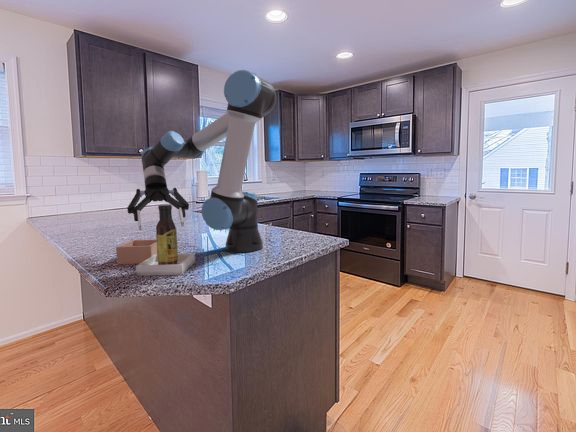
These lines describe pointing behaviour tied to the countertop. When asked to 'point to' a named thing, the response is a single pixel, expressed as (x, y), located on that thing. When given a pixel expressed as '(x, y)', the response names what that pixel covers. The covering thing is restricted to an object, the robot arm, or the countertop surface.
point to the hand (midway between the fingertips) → (162, 226)
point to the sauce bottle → (166, 237)
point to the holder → (136, 251)
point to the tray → (165, 266)
